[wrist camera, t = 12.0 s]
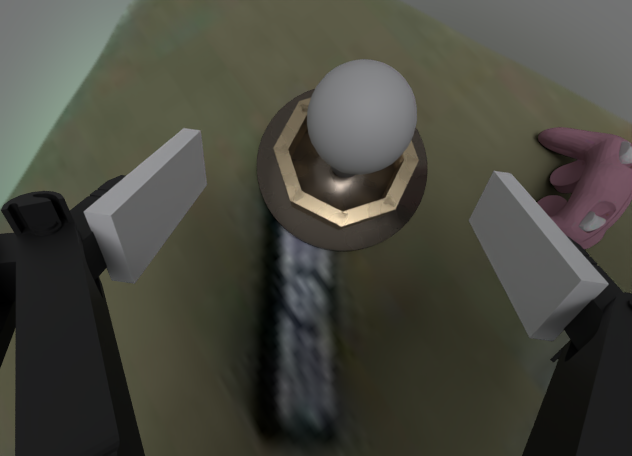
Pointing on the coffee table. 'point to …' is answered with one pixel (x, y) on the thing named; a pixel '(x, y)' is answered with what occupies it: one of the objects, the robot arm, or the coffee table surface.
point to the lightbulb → (361, 117)
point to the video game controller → (588, 182)
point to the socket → (334, 187)
